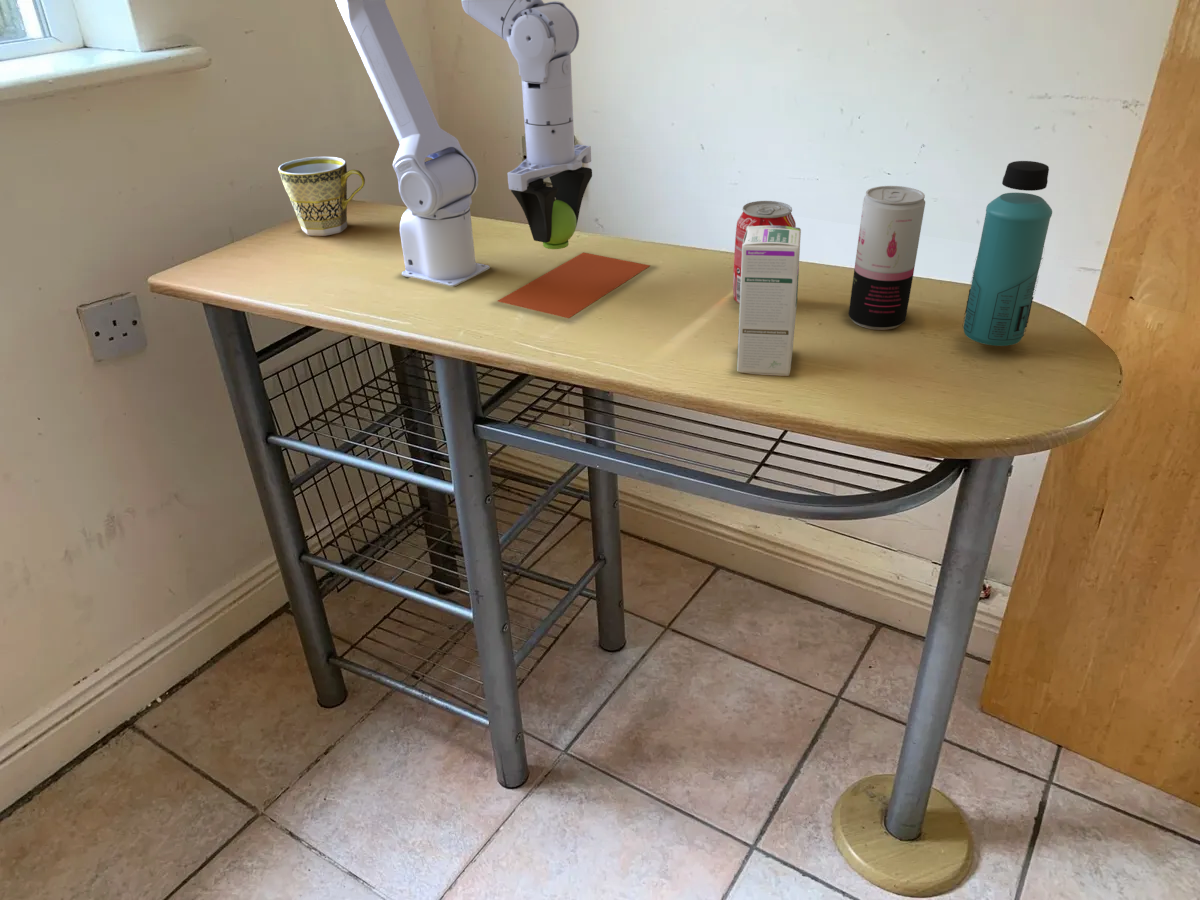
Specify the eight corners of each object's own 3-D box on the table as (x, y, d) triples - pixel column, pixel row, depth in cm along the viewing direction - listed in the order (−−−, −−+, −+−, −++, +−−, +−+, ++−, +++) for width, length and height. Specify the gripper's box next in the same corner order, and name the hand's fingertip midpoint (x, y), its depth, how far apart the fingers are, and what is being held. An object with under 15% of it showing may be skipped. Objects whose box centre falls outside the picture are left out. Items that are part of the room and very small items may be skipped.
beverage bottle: (1014, 364, 96) (1060, 175, 85) (950, 351, 99) (987, 167, 88) (1026, 341, 100) (1071, 159, 90) (965, 329, 103) (1001, 152, 93)
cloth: (497, 303, 113) (496, 300, 113) (583, 254, 128) (583, 252, 127) (568, 321, 108) (568, 318, 108) (650, 268, 122) (650, 265, 122)
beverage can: (909, 313, 107) (930, 188, 99) (900, 334, 102) (921, 205, 94) (854, 305, 110) (870, 183, 102) (842, 326, 105) (859, 199, 97)
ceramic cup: (280, 239, 137) (265, 173, 132) (309, 218, 145) (296, 155, 140) (360, 241, 135) (348, 174, 130) (384, 220, 143) (374, 157, 138)
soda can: (795, 296, 113) (804, 202, 106) (780, 318, 107) (789, 220, 101) (741, 289, 115) (747, 196, 109) (724, 309, 110) (729, 213, 103)
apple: (525, 248, 111) (521, 195, 108) (550, 235, 115) (547, 183, 112) (561, 255, 109) (558, 201, 105) (585, 242, 113) (583, 189, 109)
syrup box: (790, 377, 95) (803, 244, 87) (734, 373, 96) (742, 242, 88) (791, 353, 99) (804, 225, 92) (738, 350, 100) (745, 223, 93)
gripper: (540, 137, 97) (547, 257, 104) (610, 111, 107) (613, 222, 114) (489, 130, 100) (499, 247, 107) (562, 105, 110) (567, 214, 118)
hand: (555, 234), depth 111 cm, fingers closed on apple, 5 cm apart
